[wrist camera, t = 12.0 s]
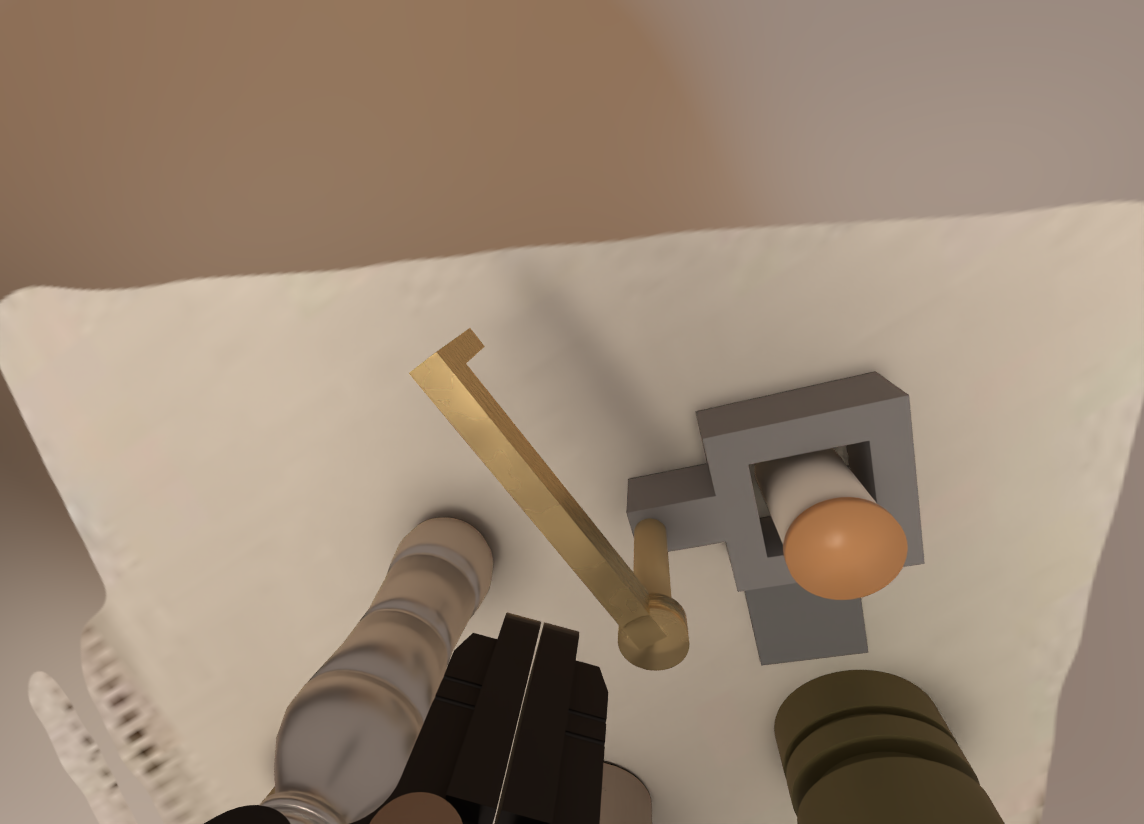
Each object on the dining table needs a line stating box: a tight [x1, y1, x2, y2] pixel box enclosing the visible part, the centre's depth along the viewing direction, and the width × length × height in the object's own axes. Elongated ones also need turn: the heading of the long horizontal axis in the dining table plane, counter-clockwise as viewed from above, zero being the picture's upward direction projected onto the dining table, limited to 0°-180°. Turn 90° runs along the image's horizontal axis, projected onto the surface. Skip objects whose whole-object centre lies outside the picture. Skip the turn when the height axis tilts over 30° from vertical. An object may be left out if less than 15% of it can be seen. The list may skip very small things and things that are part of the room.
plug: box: [754, 448, 908, 600], centre depth 29 cm, size 5×5×9 cm
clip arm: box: [409, 328, 689, 670], centre depth 23 cm, size 3×16×4 cm, turn 36°
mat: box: [745, 583, 868, 665], centre depth 36 cm, size 7×7×1 cm
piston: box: [774, 670, 1005, 824], centre depth 34 cm, size 11×12×11 cm
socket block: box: [627, 372, 924, 597], centre depth 28 cm, size 10×15×11 cm, turn 106°
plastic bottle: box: [260, 518, 493, 824], centre depth 28 cm, size 6×7×20 cm
